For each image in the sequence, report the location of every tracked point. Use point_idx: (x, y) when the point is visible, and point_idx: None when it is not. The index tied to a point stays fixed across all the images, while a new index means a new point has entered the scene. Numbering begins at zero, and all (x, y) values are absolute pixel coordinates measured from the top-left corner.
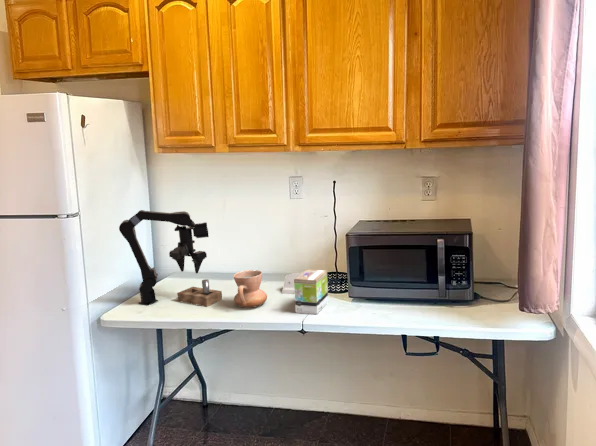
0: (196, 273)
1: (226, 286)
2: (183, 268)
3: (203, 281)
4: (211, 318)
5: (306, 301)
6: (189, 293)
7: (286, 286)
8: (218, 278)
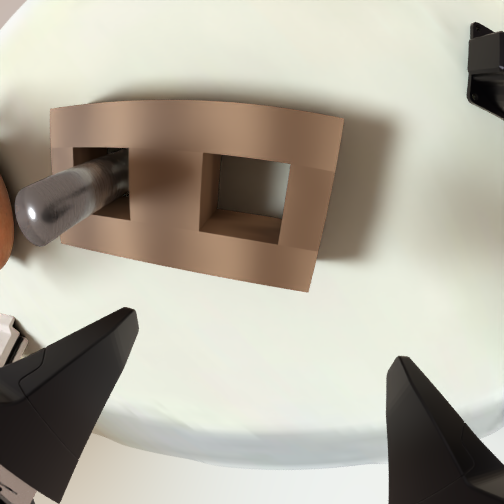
0: (127, 308)
1: (215, 383)
2: (390, 402)
3: (25, 188)
4: (14, 23)
5: None
6: (215, 131)
7: (5, 336)
8: (316, 438)
